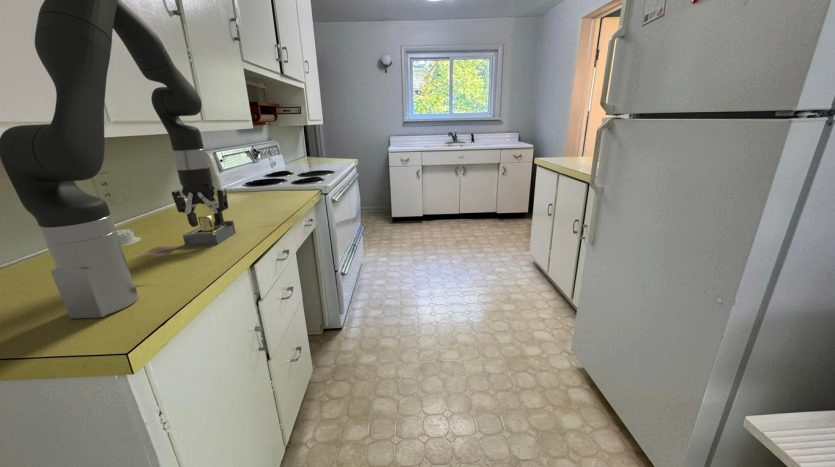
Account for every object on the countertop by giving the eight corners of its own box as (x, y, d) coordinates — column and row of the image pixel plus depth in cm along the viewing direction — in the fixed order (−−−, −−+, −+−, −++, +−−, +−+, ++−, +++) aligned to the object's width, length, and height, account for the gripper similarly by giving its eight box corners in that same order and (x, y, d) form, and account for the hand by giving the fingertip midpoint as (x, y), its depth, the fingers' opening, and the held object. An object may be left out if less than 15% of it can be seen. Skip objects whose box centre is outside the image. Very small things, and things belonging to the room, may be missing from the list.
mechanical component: (93, 249, 98) (102, 256, 92) (88, 234, 97) (97, 240, 91) (136, 239, 106) (146, 245, 100) (131, 225, 104) (142, 230, 98)
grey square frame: (218, 247, 94) (214, 230, 93) (186, 249, 94) (181, 232, 93) (236, 236, 104) (233, 220, 102) (207, 237, 104) (203, 221, 102)
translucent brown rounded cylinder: (213, 244, 97) (207, 217, 95) (202, 245, 97) (195, 218, 95) (220, 240, 100) (214, 214, 98) (209, 241, 100) (202, 215, 98)
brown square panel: (165, 259, 88) (164, 255, 87) (138, 260, 88) (137, 256, 88) (182, 249, 94) (181, 245, 94) (157, 250, 94) (156, 246, 94)
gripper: (156, 169, 88) (173, 230, 93) (211, 167, 88) (225, 228, 93) (175, 166, 95) (190, 222, 101) (226, 164, 95) (239, 221, 101)
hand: (207, 225), depth 97 cm, fingers open, 6 cm apart
